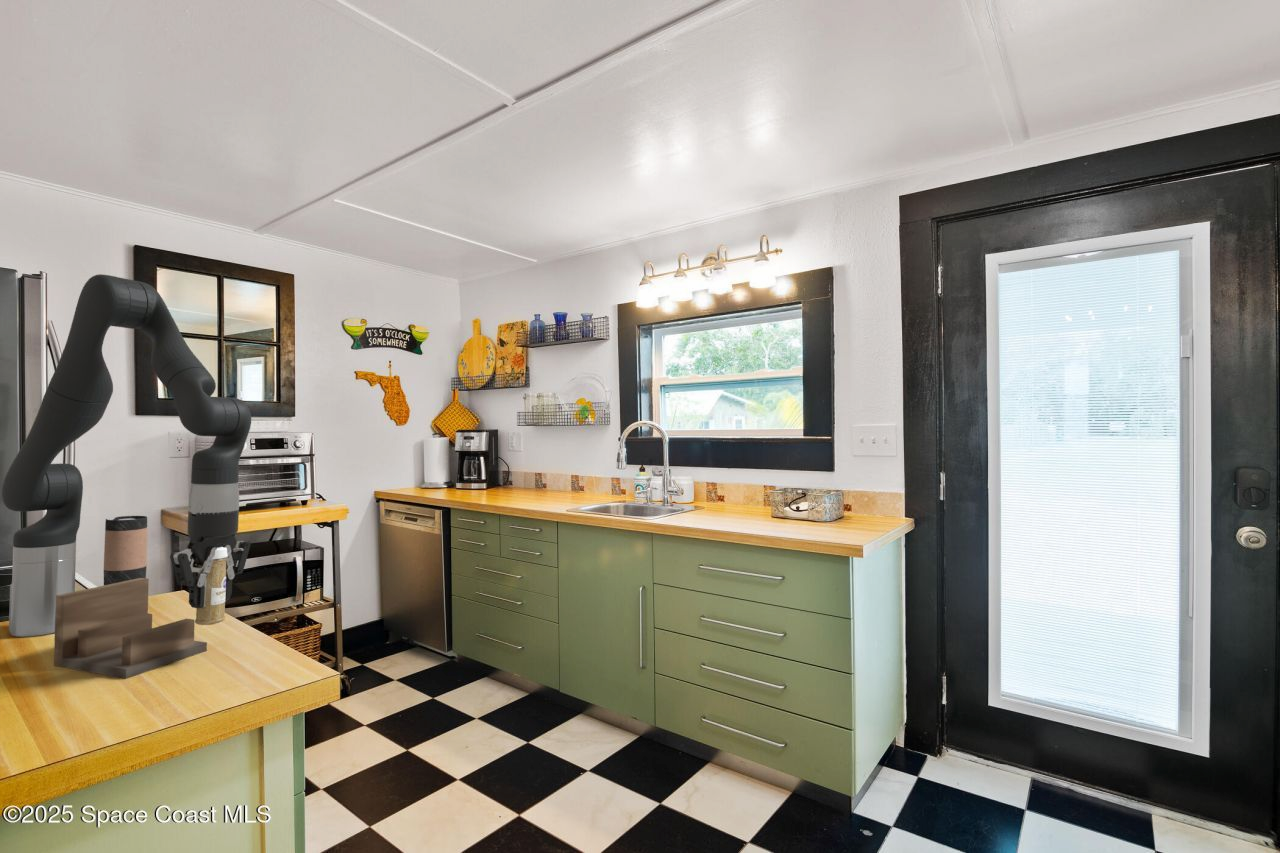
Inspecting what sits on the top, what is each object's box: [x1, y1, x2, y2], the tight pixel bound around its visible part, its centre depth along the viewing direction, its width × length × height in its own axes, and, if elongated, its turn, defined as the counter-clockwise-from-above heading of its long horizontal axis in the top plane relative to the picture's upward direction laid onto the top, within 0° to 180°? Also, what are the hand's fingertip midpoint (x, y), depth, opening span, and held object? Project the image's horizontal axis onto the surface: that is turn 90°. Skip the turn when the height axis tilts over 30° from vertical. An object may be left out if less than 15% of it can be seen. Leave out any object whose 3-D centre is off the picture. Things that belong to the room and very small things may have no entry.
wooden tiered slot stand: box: [53, 577, 208, 679], centre depth 112 cm, size 17×14×12 cm
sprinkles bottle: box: [194, 547, 228, 626], centre depth 113 cm, size 5×5×13 cm
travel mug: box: [103, 515, 148, 586], centre depth 144 cm, size 8×8×20 cm
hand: (210, 603), depth 112 cm, fingers closed on sprinkles bottle, 4 cm apart
